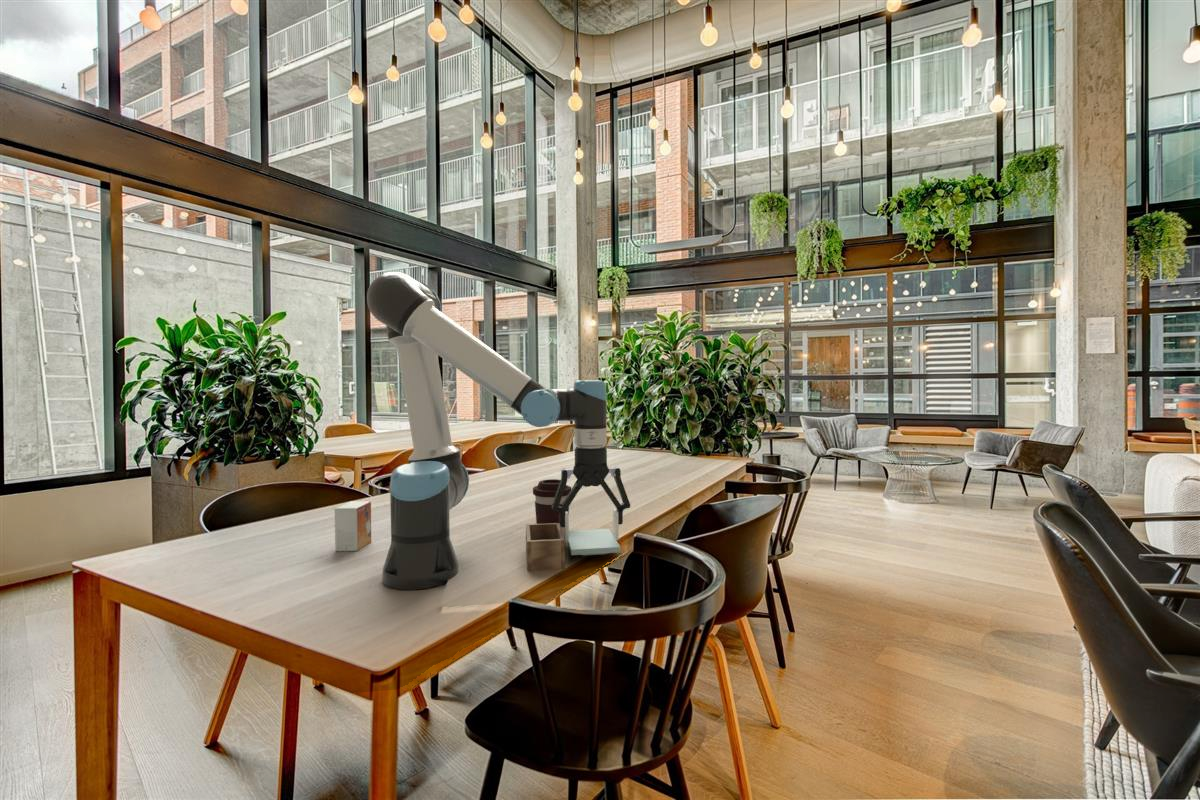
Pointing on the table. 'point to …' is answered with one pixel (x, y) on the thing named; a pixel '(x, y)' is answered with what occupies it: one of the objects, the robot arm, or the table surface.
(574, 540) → the lid
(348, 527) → the small box
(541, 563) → the box
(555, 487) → the coffee cup
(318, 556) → the table surface
